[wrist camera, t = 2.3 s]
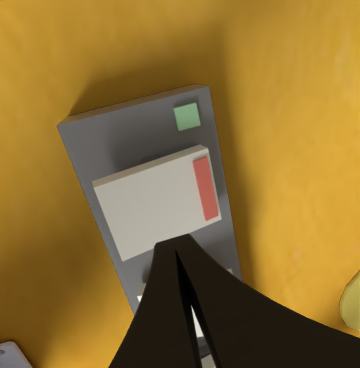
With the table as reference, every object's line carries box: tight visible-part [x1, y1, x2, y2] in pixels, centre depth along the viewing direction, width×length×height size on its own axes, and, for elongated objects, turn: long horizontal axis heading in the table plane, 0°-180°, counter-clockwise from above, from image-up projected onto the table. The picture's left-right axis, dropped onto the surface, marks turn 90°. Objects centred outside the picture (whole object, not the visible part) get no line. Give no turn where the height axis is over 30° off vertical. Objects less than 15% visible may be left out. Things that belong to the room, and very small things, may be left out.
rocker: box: [92, 144, 221, 262], centre depth 15 cm, size 6×4×1 cm
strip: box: [57, 84, 243, 359], centre depth 21 cm, size 8×26×4 cm, turn 13°
